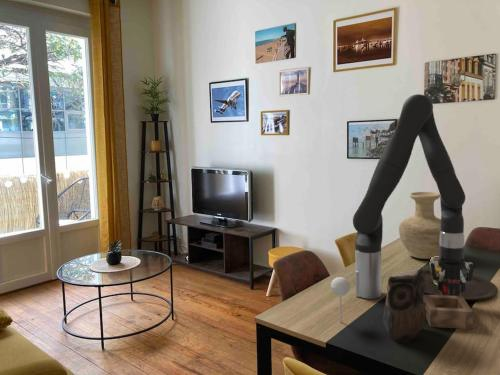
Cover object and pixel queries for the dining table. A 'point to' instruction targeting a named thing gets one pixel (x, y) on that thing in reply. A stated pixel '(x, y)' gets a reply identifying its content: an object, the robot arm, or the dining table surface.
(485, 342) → the dining table surface
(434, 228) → the vase
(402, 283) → the owl
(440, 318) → the socket block
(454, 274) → the deodorant
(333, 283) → the lollipop
